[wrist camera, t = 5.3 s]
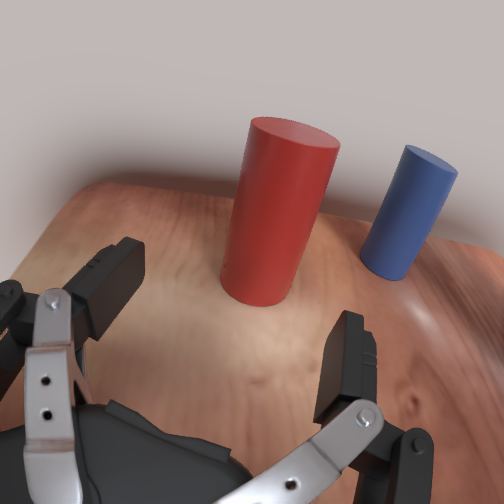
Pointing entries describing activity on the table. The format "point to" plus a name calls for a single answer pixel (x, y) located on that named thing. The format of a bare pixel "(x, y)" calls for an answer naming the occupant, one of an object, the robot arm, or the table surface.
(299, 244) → the red tin
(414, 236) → the blue tin
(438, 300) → the table surface
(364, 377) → the robot arm
